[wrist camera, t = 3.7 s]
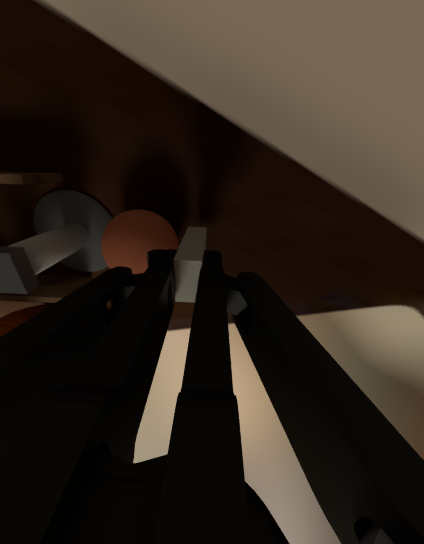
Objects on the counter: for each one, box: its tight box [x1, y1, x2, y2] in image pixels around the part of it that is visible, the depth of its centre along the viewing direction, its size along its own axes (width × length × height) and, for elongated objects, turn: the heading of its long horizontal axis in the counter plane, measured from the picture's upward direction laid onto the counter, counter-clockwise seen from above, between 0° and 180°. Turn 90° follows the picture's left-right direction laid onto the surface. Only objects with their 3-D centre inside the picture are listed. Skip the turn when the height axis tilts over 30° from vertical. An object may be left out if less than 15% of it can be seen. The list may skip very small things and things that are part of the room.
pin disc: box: [33, 190, 113, 272], centre depth 19 cm, size 8×8×1 cm
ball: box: [101, 209, 179, 274], centre depth 17 cm, size 6×6×6 cm
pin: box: [0, 222, 90, 294], centre depth 16 cm, size 3×3×8 cm
